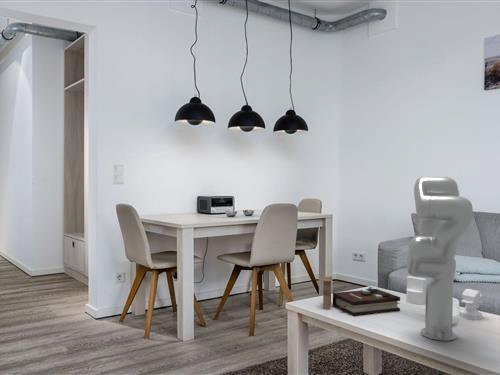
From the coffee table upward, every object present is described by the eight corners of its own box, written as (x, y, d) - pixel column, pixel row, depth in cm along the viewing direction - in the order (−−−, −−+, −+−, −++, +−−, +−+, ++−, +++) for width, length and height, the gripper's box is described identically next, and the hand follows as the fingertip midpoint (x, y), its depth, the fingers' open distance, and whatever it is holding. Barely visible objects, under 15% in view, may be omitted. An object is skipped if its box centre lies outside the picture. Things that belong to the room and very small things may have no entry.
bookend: (330, 309, 202) (330, 281, 202) (323, 308, 203) (323, 280, 203) (331, 303, 213) (332, 276, 213) (324, 302, 214) (325, 276, 214)
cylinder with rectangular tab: (403, 301, 218) (403, 277, 218) (411, 298, 224) (412, 275, 224) (420, 305, 211) (420, 280, 211) (429, 302, 217) (429, 278, 217)
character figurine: (485, 317, 193) (486, 290, 193) (474, 321, 187) (475, 293, 187) (466, 313, 200) (466, 286, 200) (454, 316, 194) (455, 289, 194)
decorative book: (327, 290, 208) (379, 286, 219) (326, 306, 208) (379, 301, 219) (350, 301, 190) (406, 295, 201) (350, 318, 191) (406, 312, 201)
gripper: (447, 217, 194) (447, 259, 193) (411, 216, 197) (411, 257, 196) (451, 217, 187) (451, 261, 186) (414, 216, 190) (413, 259, 189)
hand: (430, 259), depth 191 cm, fingers closed
